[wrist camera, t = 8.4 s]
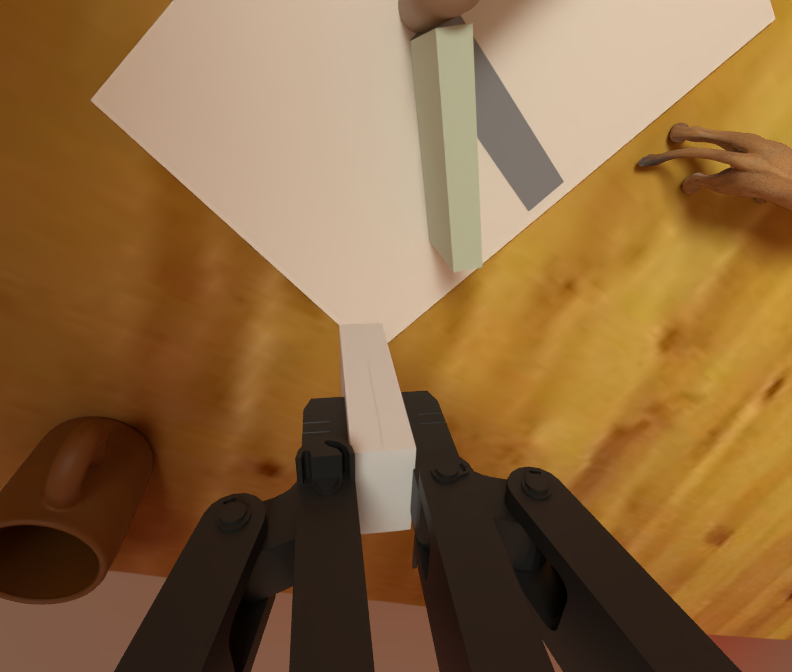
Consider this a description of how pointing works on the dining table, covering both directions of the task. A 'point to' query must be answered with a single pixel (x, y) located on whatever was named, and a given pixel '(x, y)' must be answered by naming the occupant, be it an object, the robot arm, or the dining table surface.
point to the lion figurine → (735, 164)
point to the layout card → (399, 123)
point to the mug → (70, 509)
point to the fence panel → (449, 142)
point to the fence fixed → (431, 12)
